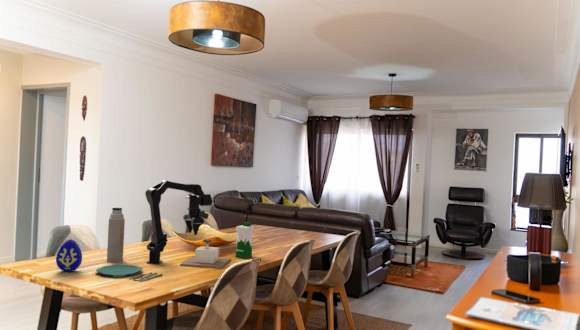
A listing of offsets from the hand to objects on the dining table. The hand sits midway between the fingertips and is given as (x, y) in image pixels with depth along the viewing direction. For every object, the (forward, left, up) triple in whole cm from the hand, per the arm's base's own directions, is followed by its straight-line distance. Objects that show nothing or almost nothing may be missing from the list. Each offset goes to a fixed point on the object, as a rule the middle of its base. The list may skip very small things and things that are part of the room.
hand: (192, 234), depth 263 cm
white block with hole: (-9, -11, -14) cm, 20 cm away
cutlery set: (-45, +17, -14) cm, 50 cm away
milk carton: (+13, -27, -14) cm, 33 cm away
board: (-9, -11, -14) cm, 20 cm away
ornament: (-47, +45, -14) cm, 66 cm away
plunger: (-9, -11, -9) cm, 17 cm away
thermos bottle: (-19, +36, -14) cm, 43 cm away
